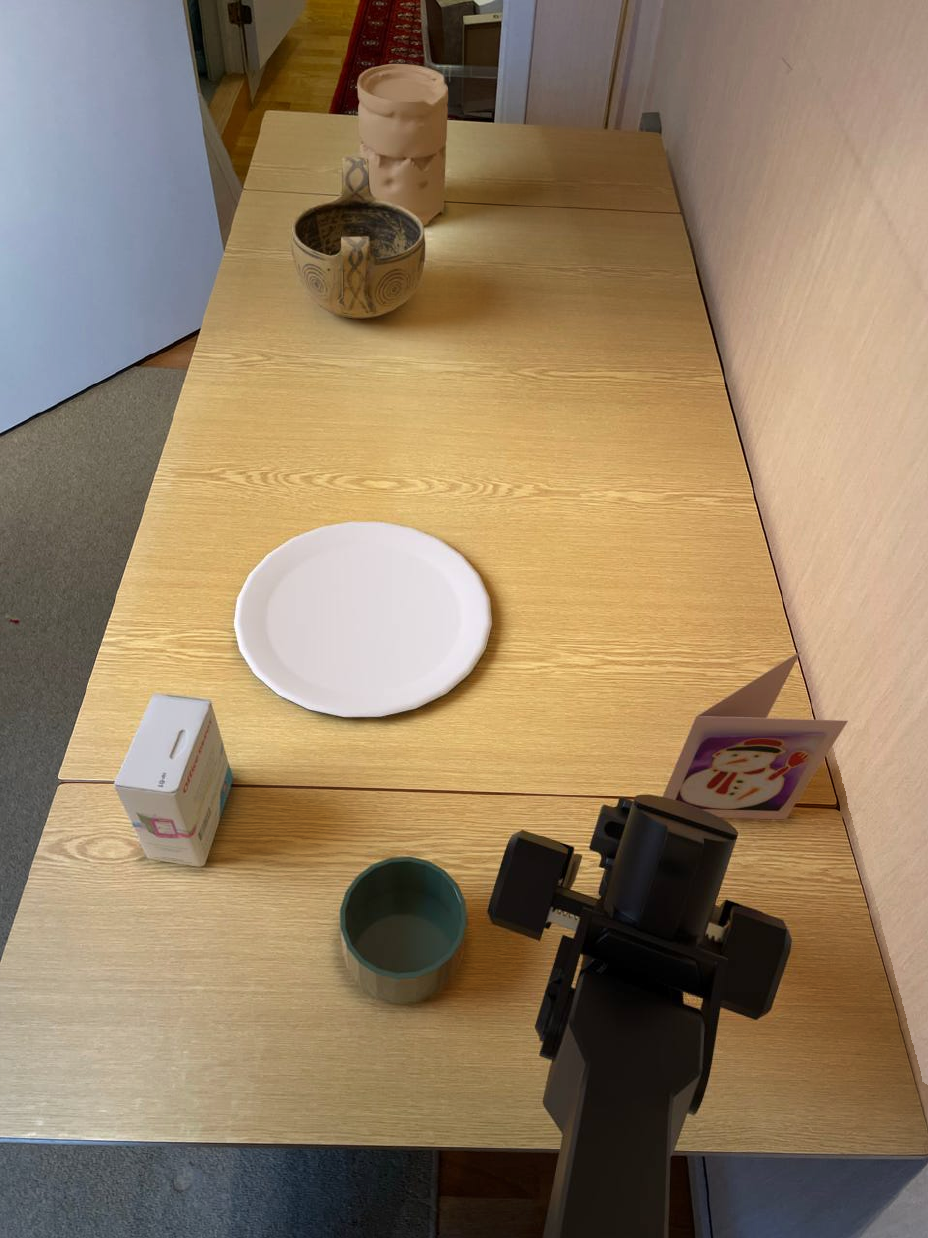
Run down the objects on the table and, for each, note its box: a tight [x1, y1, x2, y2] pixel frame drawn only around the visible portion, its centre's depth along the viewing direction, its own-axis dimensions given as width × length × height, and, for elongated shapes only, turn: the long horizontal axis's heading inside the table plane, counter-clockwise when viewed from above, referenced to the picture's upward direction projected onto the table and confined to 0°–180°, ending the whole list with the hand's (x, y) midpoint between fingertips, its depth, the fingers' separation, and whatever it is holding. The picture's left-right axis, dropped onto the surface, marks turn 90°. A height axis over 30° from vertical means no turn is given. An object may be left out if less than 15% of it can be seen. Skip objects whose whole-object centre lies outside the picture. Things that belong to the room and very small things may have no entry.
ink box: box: [113, 693, 234, 867], centre depth 77 cm, size 9×5×12 cm, turn 172°
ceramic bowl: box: [291, 156, 426, 320], centre depth 126 cm, size 22×17×15 cm
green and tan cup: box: [339, 856, 468, 1006], centre depth 73 cm, size 9×9×6 cm
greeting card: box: [662, 650, 849, 820], centre depth 80 cm, size 11×7×15 cm, turn 90°
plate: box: [233, 521, 493, 719], centre depth 96 cm, size 25×25×1 cm
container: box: [356, 63, 449, 227], centre depth 142 cm, size 13×13×18 cm
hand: (638, 882), depth 72 cm, fingers open, 9 cm apart
